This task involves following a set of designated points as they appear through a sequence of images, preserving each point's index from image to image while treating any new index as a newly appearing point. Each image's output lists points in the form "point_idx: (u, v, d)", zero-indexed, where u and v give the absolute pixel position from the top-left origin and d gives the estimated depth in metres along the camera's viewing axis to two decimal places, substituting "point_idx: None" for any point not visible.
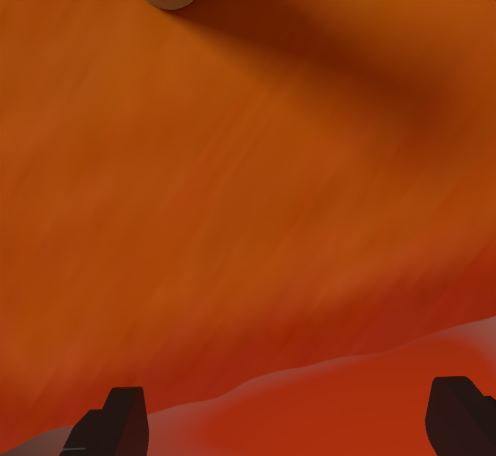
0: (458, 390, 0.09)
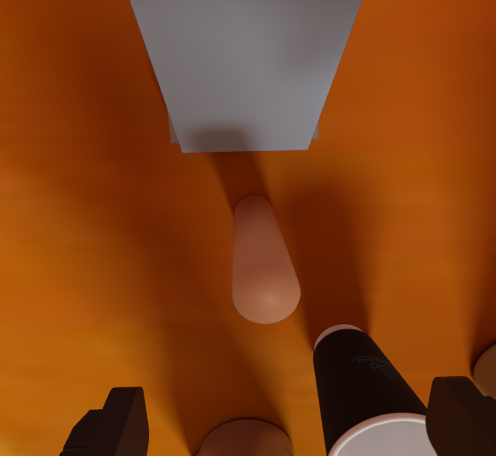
0: (458, 390, 0.09)
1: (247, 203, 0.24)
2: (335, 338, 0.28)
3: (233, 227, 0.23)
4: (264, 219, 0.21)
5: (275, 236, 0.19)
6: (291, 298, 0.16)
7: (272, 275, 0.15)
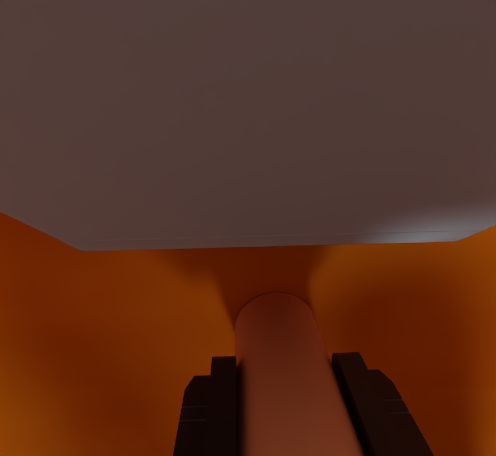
0: (346, 363, 0.10)
1: (266, 329, 0.11)
2: None
3: None
4: (325, 436, 0.07)
5: None
6: None
7: None
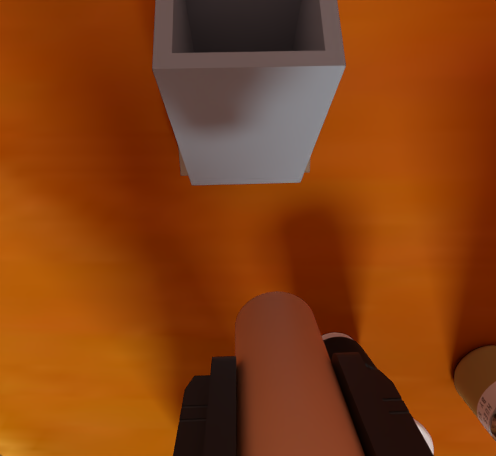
0: (346, 363, 0.10)
1: (266, 328, 0.11)
2: (327, 345, 0.31)
3: None
4: (324, 435, 0.07)
5: None
6: None
7: None
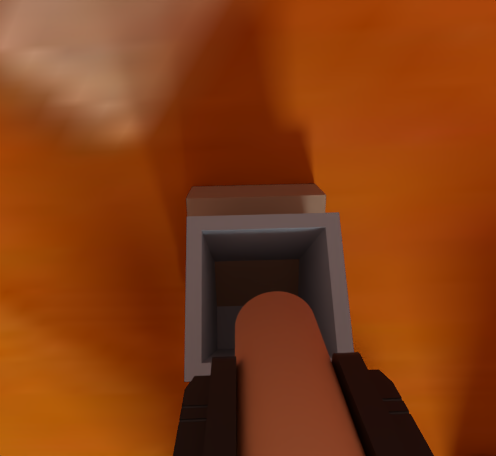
0: (346, 363, 0.10)
1: (266, 327, 0.11)
2: None
3: None
4: (325, 435, 0.07)
5: None
6: None
7: None
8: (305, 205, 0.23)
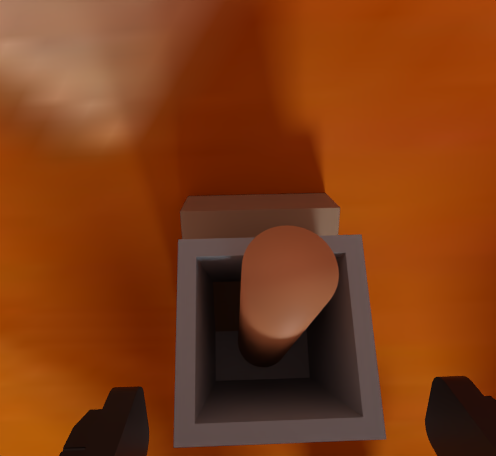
0: (458, 390, 0.09)
1: None
2: None
3: None
4: None
5: None
6: (327, 274, 0.11)
7: (295, 241, 0.11)
8: (315, 219, 0.20)
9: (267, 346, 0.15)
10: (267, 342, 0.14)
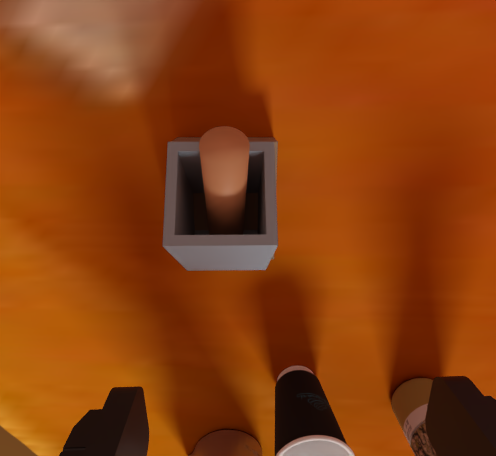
0: (458, 390, 0.09)
1: None
2: (289, 377, 0.41)
3: None
4: None
5: None
6: (243, 148, 0.21)
7: (228, 133, 0.21)
8: None
9: (220, 210, 0.25)
10: (218, 203, 0.24)
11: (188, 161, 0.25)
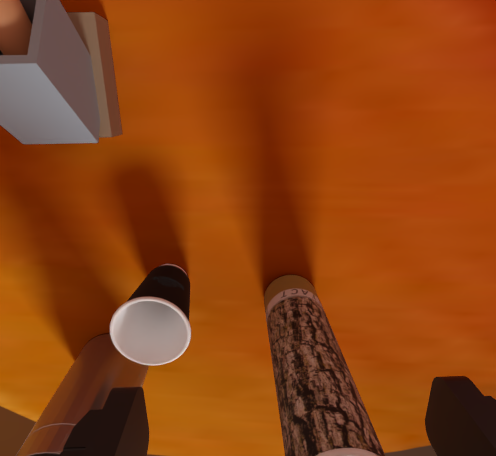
0: (458, 390, 0.09)
1: None
2: (154, 270, 0.42)
3: None
4: None
5: None
6: None
7: None
8: (80, 20, 0.32)
9: (6, 50, 0.27)
10: None
11: None
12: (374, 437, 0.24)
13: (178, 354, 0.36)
